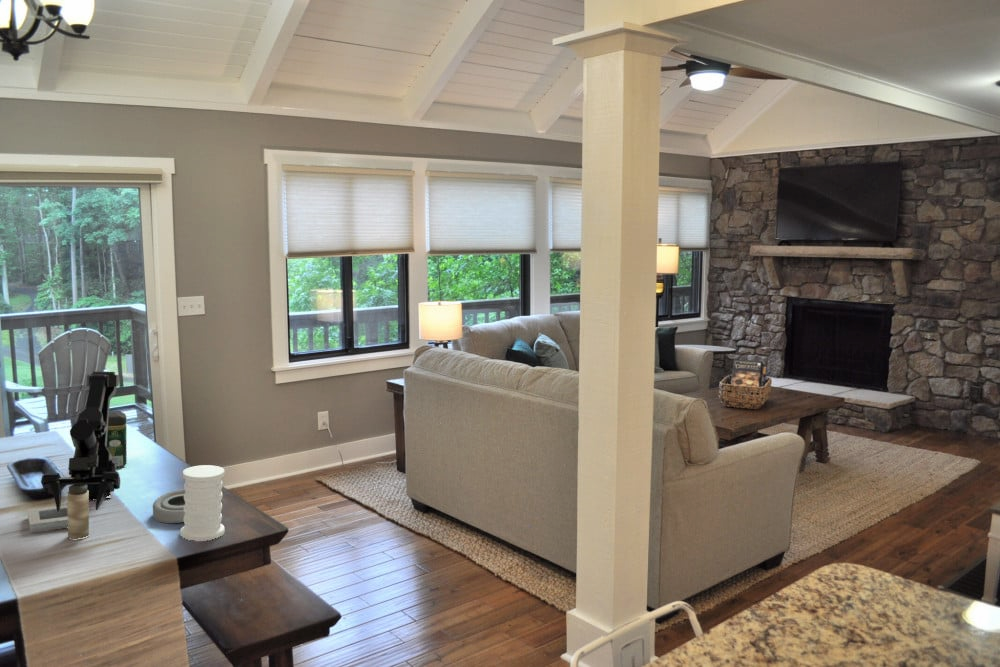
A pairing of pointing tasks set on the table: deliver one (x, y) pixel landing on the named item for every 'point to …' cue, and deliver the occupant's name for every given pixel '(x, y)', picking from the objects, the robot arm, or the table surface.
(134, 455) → the table surface
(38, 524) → the housing plate
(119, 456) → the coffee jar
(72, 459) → the robot arm
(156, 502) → the turbocharger housing
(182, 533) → the decorative container
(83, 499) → the tan bottle
